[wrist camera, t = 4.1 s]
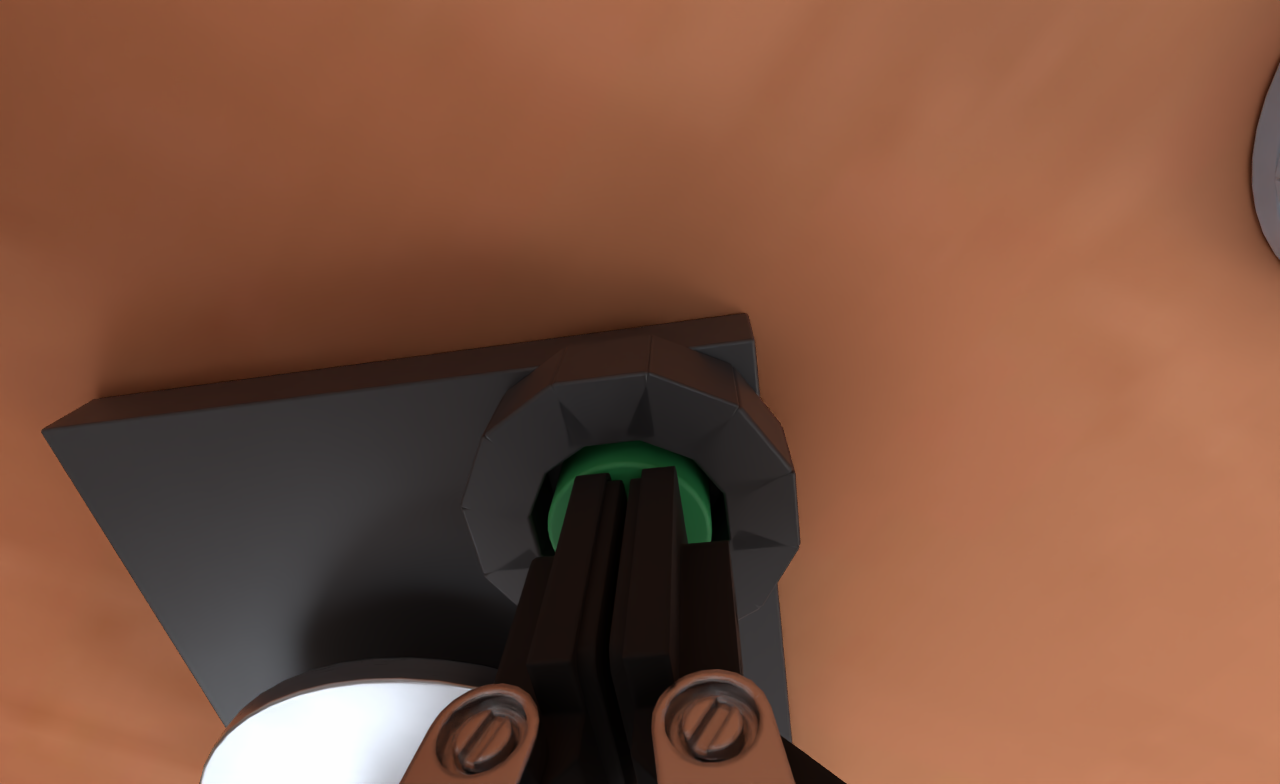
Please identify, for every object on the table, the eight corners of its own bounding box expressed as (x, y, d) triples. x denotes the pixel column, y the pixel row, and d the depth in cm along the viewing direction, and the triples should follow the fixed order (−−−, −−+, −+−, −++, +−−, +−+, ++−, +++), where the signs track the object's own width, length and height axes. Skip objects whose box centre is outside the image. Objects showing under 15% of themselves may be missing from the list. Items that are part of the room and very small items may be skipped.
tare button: (546, 426, 12) (529, 473, 11) (699, 408, 12) (701, 454, 11) (577, 548, 14) (565, 603, 12) (716, 534, 13) (721, 590, 12)
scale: (84, 383, 14) (-52, 458, 12) (764, 291, 13) (787, 354, 10) (348, 845, 21) (301, 957, 19) (809, 825, 20) (829, 946, 17)
